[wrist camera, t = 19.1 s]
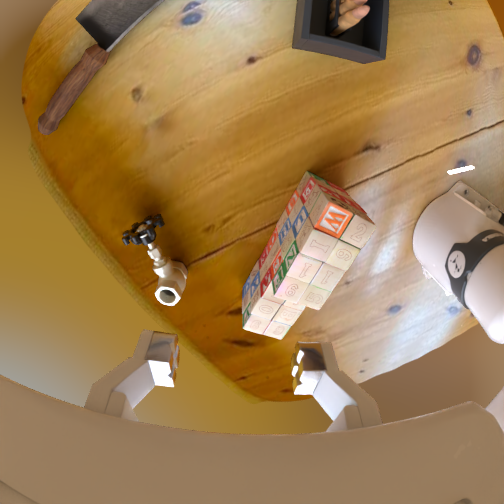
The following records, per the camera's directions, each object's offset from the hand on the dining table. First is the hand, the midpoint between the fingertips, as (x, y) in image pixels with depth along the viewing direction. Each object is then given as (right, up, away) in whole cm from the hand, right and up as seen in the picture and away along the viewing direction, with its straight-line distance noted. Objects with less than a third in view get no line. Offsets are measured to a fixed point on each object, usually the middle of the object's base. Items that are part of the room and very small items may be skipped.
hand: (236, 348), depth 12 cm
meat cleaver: (-19, +35, +13) cm, 42 cm away
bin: (+11, +35, +13) cm, 39 cm away
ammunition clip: (+11, +35, +12) cm, 39 cm away
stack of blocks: (+6, +6, +31) cm, 32 cm away
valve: (-12, +5, +31) cm, 34 cm away
